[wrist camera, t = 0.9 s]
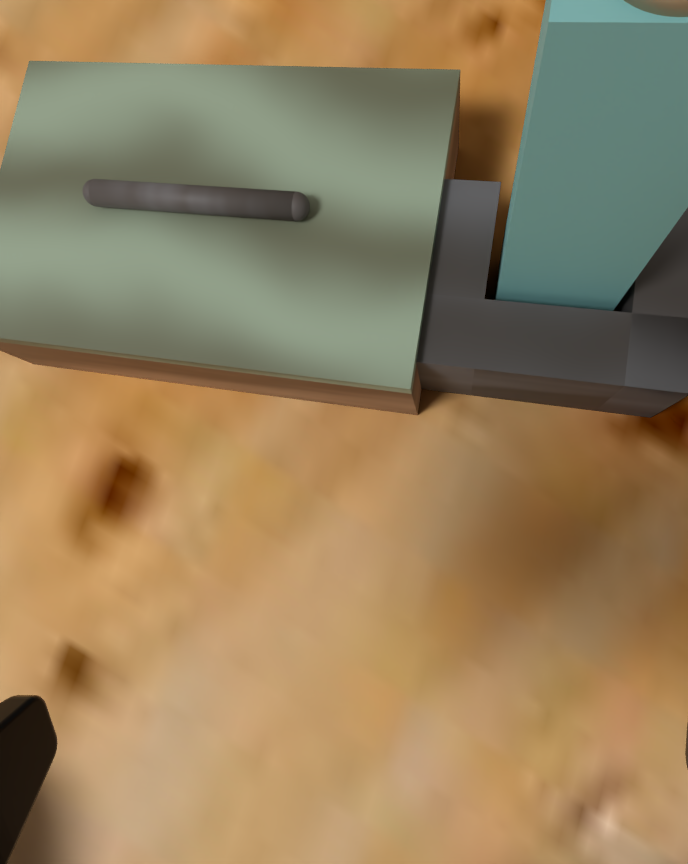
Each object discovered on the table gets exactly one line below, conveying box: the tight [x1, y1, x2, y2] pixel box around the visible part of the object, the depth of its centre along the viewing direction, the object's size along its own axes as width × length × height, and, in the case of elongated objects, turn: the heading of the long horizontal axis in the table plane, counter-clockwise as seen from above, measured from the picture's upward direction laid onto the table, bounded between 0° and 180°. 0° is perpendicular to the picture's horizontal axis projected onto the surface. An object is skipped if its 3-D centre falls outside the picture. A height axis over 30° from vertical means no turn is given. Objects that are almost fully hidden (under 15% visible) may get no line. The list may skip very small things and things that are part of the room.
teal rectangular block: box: [494, 0, 688, 311], centre depth 17 cm, size 3×4×16 cm
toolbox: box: [0, 61, 688, 417], centre depth 24 cm, size 12×27×6 cm, turn 80°
